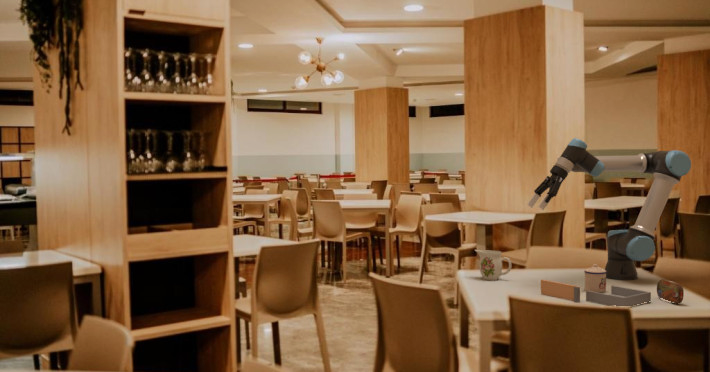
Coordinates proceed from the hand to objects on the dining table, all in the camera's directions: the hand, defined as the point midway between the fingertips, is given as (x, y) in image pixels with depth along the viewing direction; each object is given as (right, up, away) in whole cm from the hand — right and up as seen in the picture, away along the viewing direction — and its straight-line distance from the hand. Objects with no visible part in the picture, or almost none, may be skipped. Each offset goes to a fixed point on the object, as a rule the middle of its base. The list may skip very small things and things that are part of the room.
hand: (535, 207), depth 288 cm
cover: (+3, -37, -24) cm, 44 cm away
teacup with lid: (+24, -36, -11) cm, 45 cm away
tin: (+44, -37, -34) cm, 67 cm away
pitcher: (-15, -36, +18) cm, 43 cm away
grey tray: (+21, -37, -34) cm, 54 cm away
